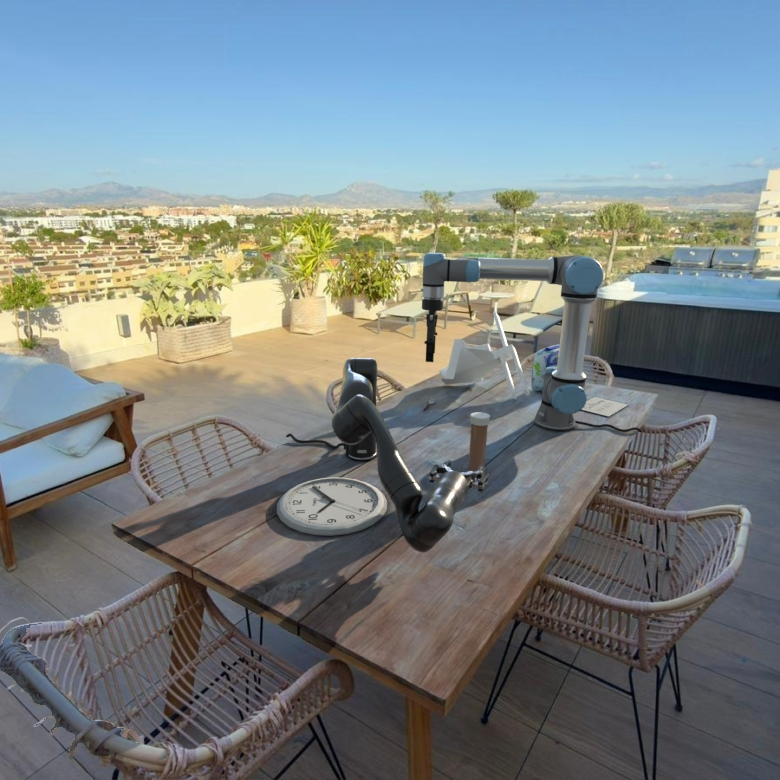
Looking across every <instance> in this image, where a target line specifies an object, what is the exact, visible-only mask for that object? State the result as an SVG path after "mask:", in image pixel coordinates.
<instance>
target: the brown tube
mask: <svg viewBox="0 0 780 780" xmlns="http://www.w3.org/2000/svg"><path fill="white" fill-rule="evenodd" d="M488 426H489V424H488V425H485V426H478V425H474V424H472V423H471V422H470V438H469V450H468V451H469V454H468V468H467V472H469V471H473V472H475V471H477V469H478V468H479V466H480V465H482V466H483V468H484V469H485V465H486V452H487V451H486V450H487V441H488V440H487V439H488ZM469 477H470V476H469ZM475 478H477V475H476V477H475Z"/></svg>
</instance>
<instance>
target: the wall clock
mask: <svg viewBox="0 0 780 780" xmlns="http://www.w3.org/2000/svg"><path fill="white" fill-rule="evenodd" d="M387 509H388V500H387V498H386V496H385V494H384V493H383V492H382V491H381V490H380V489H379V488H377V487H376V486H374V485H372V484H371V483H369V482H365V481H362V480H359V479H355V478H349V477H338V476H337V477H335V476H333V477H332V476H331V477H322V478H317V479H312V480H307V481H305V482H302V483H299V484H297V485H295V486H293V487H292V488H290V489H288V490H287V491H286V492H285V493H284V494H283V495H281V496H280V498H279V499H278V502H277V503H276V515H277V517H278V518H279V520H280V521H281V522H282V523H283V524H285V525H286V526H287V527H288V528H290V529H293V530H295V531H297V532H299V533H303V534H308V535H312V536H327V537H328V536H329V537H331V536H332V537H333V536H342V535H350V534H352V533H356V532H361V531H363V530H366V529H368V528H369V527H372V526H373V525H375V524H376V523H378V522H379V521H380V520H381V519H382V518H383V517H384V516H385V514H386V512H387Z"/></svg>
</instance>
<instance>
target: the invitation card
mask: <svg viewBox="0 0 780 780" xmlns="http://www.w3.org/2000/svg"><path fill="white" fill-rule="evenodd" d="M628 406H629V404H627V403H623V402H618V401H614V400H609V399H605V398H601V397H596V396H593V397H592V398H590V399H587V401H586V404H585V406H584V407H583V408H582V409H581V410H580V411H584V412H587V413H593V414H596V415H600V416H604V417H608V418H609V417H611V416H613V415H614V414H616V413H617V412H619V411H621V410H623V409H624V408H626V407H628Z"/></svg>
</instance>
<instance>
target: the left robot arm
mask: <svg viewBox="0 0 780 780" xmlns="http://www.w3.org/2000/svg"><path fill="white" fill-rule="evenodd" d="M378 372H379V371H378V363H377V360H376V358H374V357H373V358H372V357H351V358H347V359H346V360H345V362H344V363H343V366H342V383H341V386H340V391H339V398H338V401H337V402H338V403H337V406H336V409H335V411H334V413H333V415H332V417H331V428H332V430H333V433H334V435H335V436H336V438H337V439H338V440H339V441H340V443H338V444H336V445H333V444H332V443H330V442H328V441H326V440H323V439H310V440H309V439H308V440H307V439H305V440H303V439H298V438H296V437H295V436H294V435H293V433H287V434H286V436H285V437H286V438H291V439H292V440H293V441H294V442H296V443H298V444H315V443H316V444H317V443H318V444H324V445H326V446H328V447H329V448H331V449H334V450H336V449H339V448H340V447H343V450H344V451H345V457H347V458H349V459H351V460H353V461H358V462H365V461H371V460H373V459H375V458H376V459H377V460H376V462H377V474H378V480H379V482H380V484H381V487H382V489H383V490H384V492H385V493H386V495H387V496H388V498H389V500H390V501H391V503H392V504H393V506H394V509H395V513H396V517H397V519H398V523H399V527H400V531H401V533H402V536H403V538H404V540H405V542H406V543H407V544H408V545H409V547H410V548H412V549H413V550H415V551H416V552H419V553H427V552H429V551H430V550H432V549H433V548H434V547H435V546H436V544H438V542H439V541H440V540H442V539H443V538H444V537H445V536H446V535H447V533H448V532H449V531H450V529H451V528H452V526H453V524H454V517H455V514H456V513H457V510H459V508H460V507H461V505H462V504H463V502H464V500H465V498H466V496H467V494H468V492H469V490H470V489H472V488H475V489H477V492H479V493H480V492H483V491H484V490H485V489H486V487H487V485H488V484H489V475H490V474H489V473H488V472H485V467H484V468H483V466H482V465H480V466H479V468H478V469H477V471H475V472H473V471H469V472H468V471H466V472H463V471H462V472H461V471H456V470H452V469H451V467H452V460H450V459H448V460H447V461H444V462H443V463H442V464H441V465H439V464H438V463H437V464H436V463H435V464H433V466H432V468H431V469H430V471H429V475H428V476H429V477H428V482H429V483H430V484H434V483H435V482H436V483H435V484H434V485H433V486H432V489H431V490H430V493H429V494H428V496H427V498H426V499H425V501H424V502H423V503H424V504H423V506H422V508H421V509H420V504H421V502H422V500H423V497H424V491H423V488H422V487H421V485H420V484H419V482H418V480H417V479H416V478H415V476H414V475H413V473H412V471H411V470H410V468H409V467H408V465H407V464H406V462H405V460H404V459H403V457H402V455H401V453H400V451H399V449H398V447H397V444H396V441H395V440H394V438H393V436H392V433H391V431H390V429H389V427H388V426H387V423H386V422H385V419H384V417H383V415H382V413H381V411H380V410H379V408H378V407H377V386H378ZM439 474H440V475H439ZM476 475H477V478H475V477H476ZM469 476H470V477H469Z"/></svg>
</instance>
